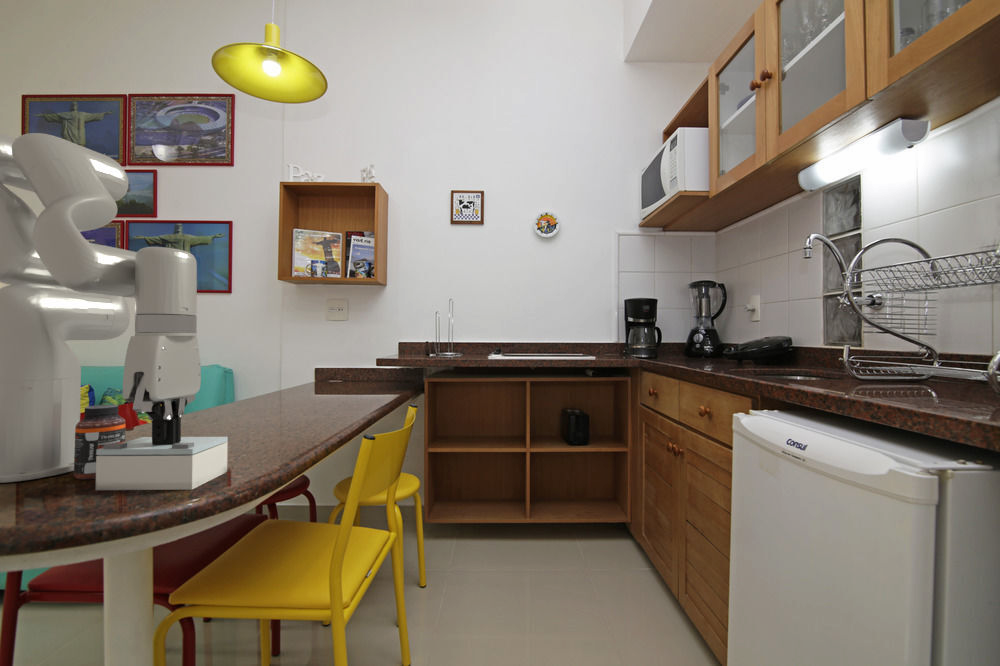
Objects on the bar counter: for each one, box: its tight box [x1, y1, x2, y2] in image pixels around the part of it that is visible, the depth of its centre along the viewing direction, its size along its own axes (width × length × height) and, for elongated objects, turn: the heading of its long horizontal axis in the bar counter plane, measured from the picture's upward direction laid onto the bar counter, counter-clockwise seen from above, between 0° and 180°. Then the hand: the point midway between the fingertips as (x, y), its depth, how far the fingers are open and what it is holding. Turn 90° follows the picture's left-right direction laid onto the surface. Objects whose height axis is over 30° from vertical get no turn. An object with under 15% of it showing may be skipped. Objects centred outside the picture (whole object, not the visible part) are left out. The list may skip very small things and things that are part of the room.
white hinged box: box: [95, 441, 229, 491], centre depth 64 cm, size 14×8×5 cm, turn 91°
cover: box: [96, 436, 229, 455], centre depth 64 cm, size 14×8×1 cm, turn 91°
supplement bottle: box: [73, 404, 127, 480], centre depth 66 cm, size 6×6×11 cm
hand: (166, 443), depth 63 cm, fingers closed
